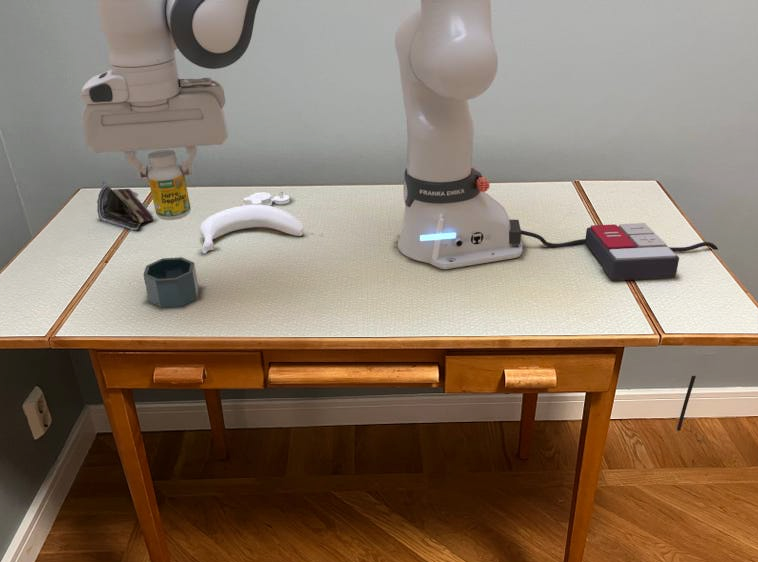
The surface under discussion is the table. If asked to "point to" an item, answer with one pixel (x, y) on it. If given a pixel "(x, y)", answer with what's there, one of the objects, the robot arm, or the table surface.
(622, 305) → the table surface
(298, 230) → the banana
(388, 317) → the table surface
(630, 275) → the control box
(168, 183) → the supplement bottle
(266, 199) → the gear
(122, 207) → the chocolate cake
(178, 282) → the holder
